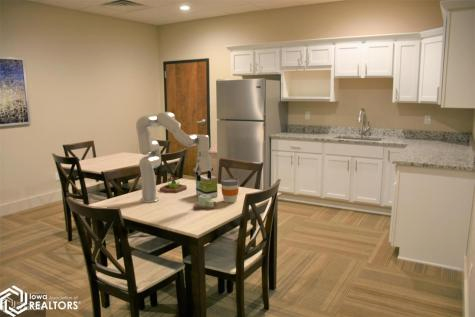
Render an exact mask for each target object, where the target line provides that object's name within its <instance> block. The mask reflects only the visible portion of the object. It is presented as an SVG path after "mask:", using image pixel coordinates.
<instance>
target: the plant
mask: <svg viewBox="0 0 475 317" xmlns="http://www.w3.org/2000/svg"><path fill="white" fill-rule="evenodd" d="M176 180H177V181H178V180H179V178H178V177H175V178H174V176H171V177H170V178H167V182H166V183H167V184H164V185H163V186H161V187H159V192H162V193H167V194H171V193H172V194H178V193H180V192H183V191H186V190H187V188H188V186H187V185H186V184H181V183H180V182H179V181H178V182H177V181H176ZM168 181H170V182H168Z"/></svg>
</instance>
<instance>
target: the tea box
mask: <svg viewBox="0 0 475 317" xmlns="http://www.w3.org/2000/svg"><path fill="white" fill-rule="evenodd" d="M200 176H201V181H197V175H195V194H196V196H201V195H209V196H211V199H212V198H213V197H214V198H218V177H216V176H214V175H211V179H209V178H207V173H206V174H200Z"/></svg>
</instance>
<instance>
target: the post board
mask: <svg viewBox="0 0 475 317" xmlns="http://www.w3.org/2000/svg"><path fill="white" fill-rule="evenodd" d="M216 204H217V202H216V201H214V207H208V206H205V207H204V206H201V205H199V204H198V201H195V202H194V205H193V210H199V211H201V210H203V211H204V210H216Z"/></svg>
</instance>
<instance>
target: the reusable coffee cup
mask: <svg viewBox="0 0 475 317" xmlns="http://www.w3.org/2000/svg"><path fill="white" fill-rule="evenodd" d="M220 185H221V188H220V189H221V195H222V197H223V202H224V203H227V202H230V203H231V202H233V203H236V202H237V200H238V195H239V185H240V181H239V178H233V177H229V178H222V179H221V181H220Z"/></svg>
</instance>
